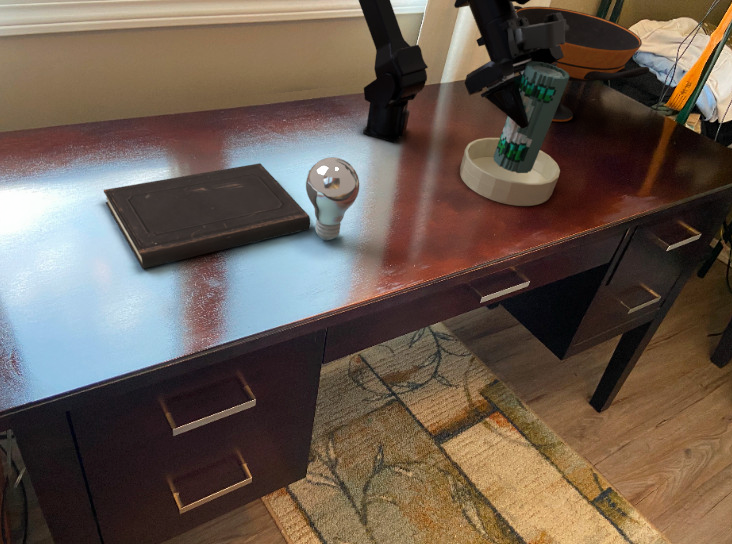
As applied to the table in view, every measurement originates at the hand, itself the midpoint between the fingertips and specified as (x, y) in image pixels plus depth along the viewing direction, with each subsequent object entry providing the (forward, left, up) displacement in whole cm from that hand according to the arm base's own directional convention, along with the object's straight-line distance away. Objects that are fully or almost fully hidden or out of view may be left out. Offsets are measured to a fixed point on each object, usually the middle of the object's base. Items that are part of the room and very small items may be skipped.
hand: (536, 122), depth 91 cm
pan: (-2, +6, -13) cm, 15 cm away
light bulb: (-22, -26, -14) cm, 37 cm away
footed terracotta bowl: (+1, +43, -14) cm, 45 cm away
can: (-2, 0, -8) cm, 8 cm away
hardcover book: (-38, -30, -14) cm, 50 cm away
